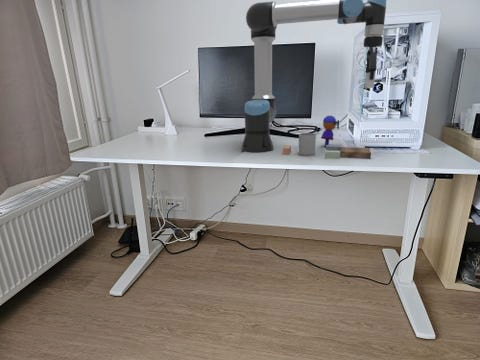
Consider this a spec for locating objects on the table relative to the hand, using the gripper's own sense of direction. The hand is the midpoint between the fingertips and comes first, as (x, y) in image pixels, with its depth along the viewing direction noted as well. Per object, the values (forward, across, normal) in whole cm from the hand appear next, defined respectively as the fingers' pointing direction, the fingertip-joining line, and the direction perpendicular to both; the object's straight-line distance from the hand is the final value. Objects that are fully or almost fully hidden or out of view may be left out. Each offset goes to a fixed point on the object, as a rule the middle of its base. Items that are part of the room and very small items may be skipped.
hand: (368, 87), depth 142 cm
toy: (+28, 0, +16) cm, 32 cm away
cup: (+28, -19, +25) cm, 42 cm away
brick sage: (+28, -25, +14) cm, 40 cm away
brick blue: (+28, -13, +14) cm, 34 cm away
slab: (+28, -19, +5) cm, 34 cm away
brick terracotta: (+28, -19, +34) cm, 48 cm away
